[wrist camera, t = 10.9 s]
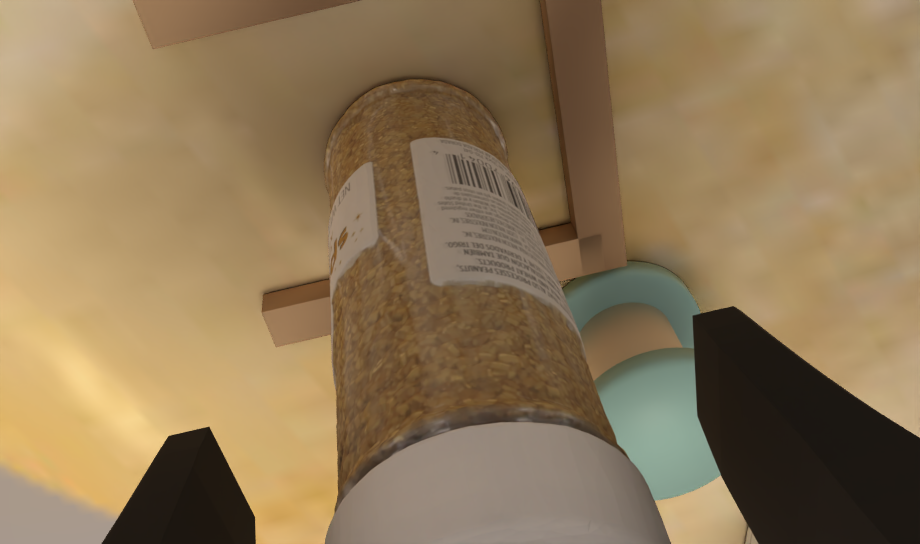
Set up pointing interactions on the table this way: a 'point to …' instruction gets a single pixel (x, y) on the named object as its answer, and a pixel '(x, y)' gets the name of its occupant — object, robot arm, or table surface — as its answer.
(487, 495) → the spice jar
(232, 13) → the u-shaped brown frame
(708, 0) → the table surface
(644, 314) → the bobbin
